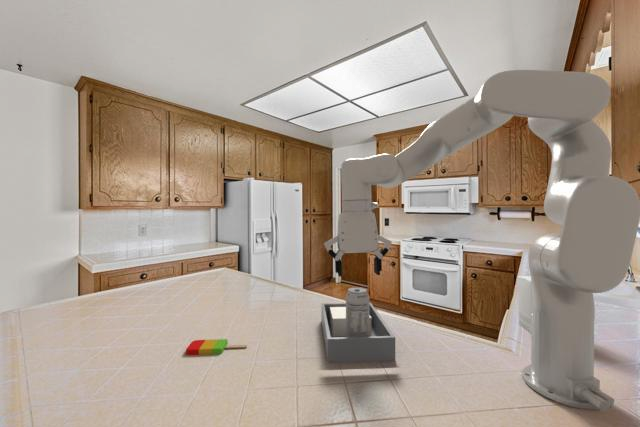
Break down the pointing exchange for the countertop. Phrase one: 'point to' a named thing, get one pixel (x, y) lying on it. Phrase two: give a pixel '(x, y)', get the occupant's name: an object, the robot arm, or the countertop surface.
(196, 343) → the popsicle
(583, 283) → the robot arm
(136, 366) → the countertop surface
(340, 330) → the cream white box
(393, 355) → the grocery crate
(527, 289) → the skincare box
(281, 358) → the countertop surface
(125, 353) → the countertop surface
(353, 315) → the energy drink can
